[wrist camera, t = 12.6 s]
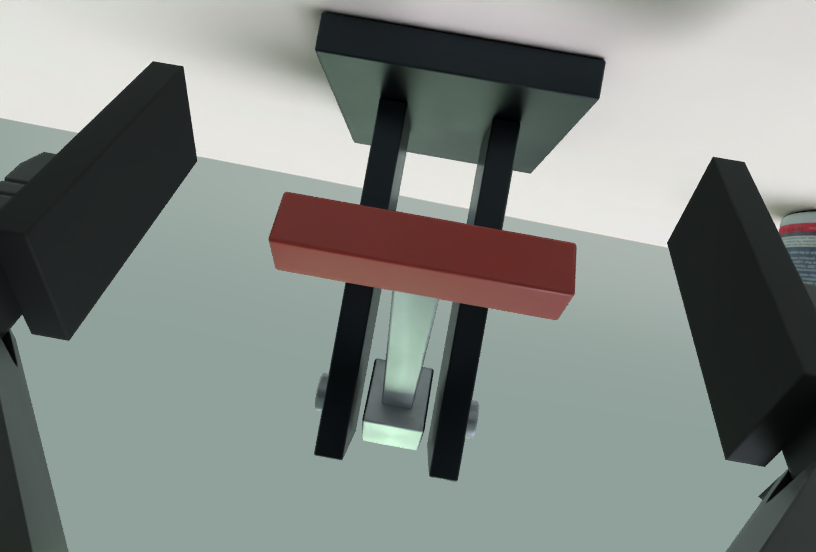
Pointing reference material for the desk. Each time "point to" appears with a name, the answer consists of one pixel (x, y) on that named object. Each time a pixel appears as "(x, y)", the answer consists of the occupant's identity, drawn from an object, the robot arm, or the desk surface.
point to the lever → (418, 286)
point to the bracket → (446, 138)
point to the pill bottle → (801, 243)
